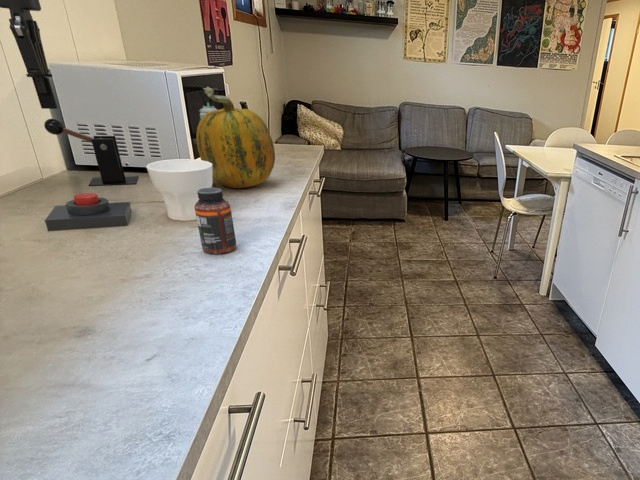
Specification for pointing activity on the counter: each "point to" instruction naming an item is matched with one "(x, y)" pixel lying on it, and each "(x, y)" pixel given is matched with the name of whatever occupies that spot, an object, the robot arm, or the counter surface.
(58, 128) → the switch lever
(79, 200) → the push button
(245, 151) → the pumpkin
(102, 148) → the lever bracket
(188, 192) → the cup
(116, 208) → the switch box
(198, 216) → the supplement bottle
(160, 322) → the counter surface
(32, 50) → the robot arm
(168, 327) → the counter surface
